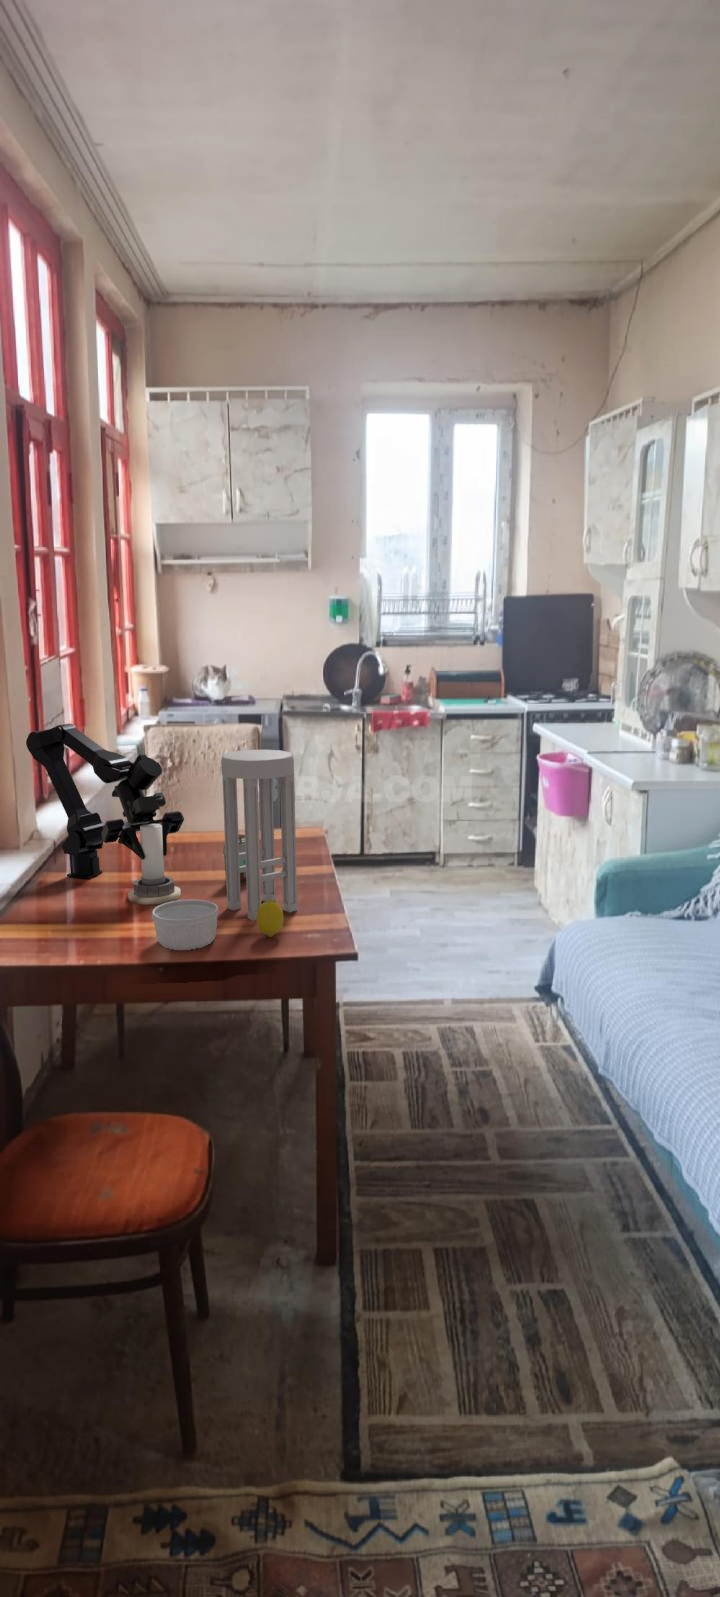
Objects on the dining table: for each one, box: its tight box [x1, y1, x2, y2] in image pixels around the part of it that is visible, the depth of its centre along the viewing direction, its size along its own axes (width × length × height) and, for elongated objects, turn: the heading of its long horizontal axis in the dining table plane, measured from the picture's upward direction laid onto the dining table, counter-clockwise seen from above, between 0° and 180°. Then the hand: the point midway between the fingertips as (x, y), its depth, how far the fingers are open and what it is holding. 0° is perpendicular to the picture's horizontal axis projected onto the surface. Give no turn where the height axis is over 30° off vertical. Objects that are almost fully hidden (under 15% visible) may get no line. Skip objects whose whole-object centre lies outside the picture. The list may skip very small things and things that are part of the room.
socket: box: [127, 875, 182, 906], centre depth 231 cm, size 12×12×4 cm
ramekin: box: [151, 899, 219, 951], centre depth 201 cm, size 13×13×7 cm
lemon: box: [255, 900, 285, 938], centre depth 202 cm, size 6×6×8 cm
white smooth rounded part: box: [139, 824, 166, 886], centre depth 229 cm, size 5×5×14 cm
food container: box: [222, 833, 246, 885], centre depth 244 cm, size 12×6×10 cm, turn 168°
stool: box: [220, 749, 298, 921], centre depth 218 cm, size 16×16×35 cm
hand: (154, 856), depth 228 cm, fingers closed on white smooth rounded part, 5 cm apart
